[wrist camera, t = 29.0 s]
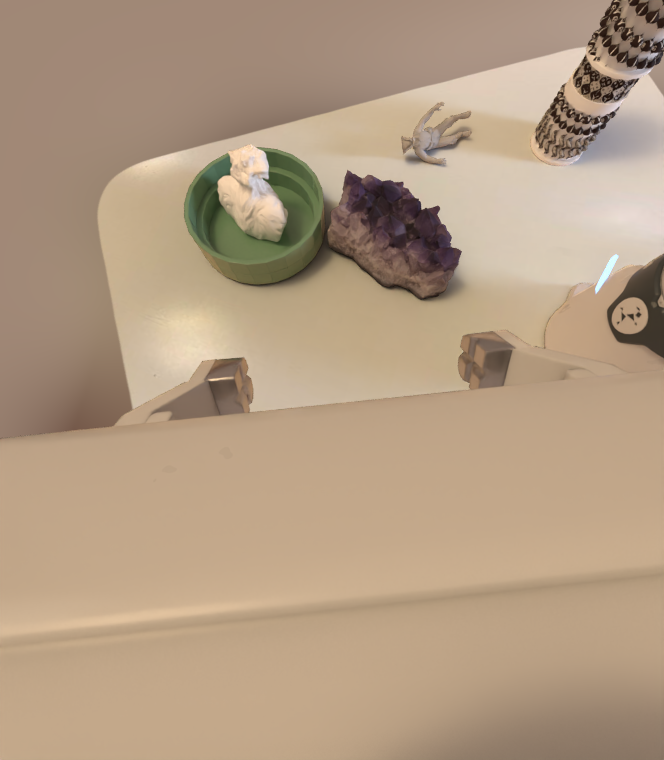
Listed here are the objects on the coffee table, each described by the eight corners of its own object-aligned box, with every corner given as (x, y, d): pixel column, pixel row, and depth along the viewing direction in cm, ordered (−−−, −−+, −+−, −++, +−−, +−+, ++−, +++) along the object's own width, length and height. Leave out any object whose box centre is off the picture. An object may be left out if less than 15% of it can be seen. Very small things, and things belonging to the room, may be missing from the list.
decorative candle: (516, 134, 51) (679, -155, 27) (564, 117, 52) (764, -181, 27) (546, 175, 49) (752, -98, 25) (595, 156, 50) (842, -128, 25)
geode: (468, 260, 46) (501, 217, 36) (421, 320, 45) (441, 294, 35) (361, 187, 48) (363, 128, 38) (315, 243, 48) (305, 199, 38)
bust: (294, 248, 48) (315, 168, 41) (264, 258, 43) (283, 166, 35) (235, 213, 50) (245, 130, 43) (199, 217, 45) (204, 122, 37)
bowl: (319, 175, 50) (316, 141, 44) (330, 279, 45) (329, 256, 40) (201, 186, 50) (185, 153, 44) (201, 292, 45) (183, 270, 40)
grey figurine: (472, 156, 51) (426, 168, 46) (446, 163, 55) (401, 175, 50) (472, 96, 48) (421, 102, 42) (444, 108, 51) (395, 115, 46)
